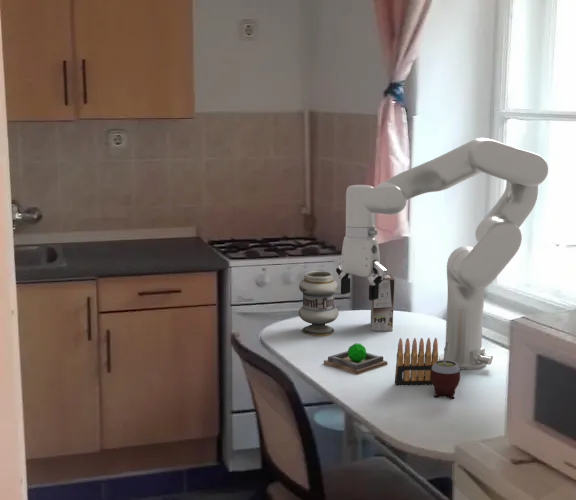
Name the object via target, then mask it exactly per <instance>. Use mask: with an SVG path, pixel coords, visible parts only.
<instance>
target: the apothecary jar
mask: <svg viewBox="0 0 576 500" xmlns="http://www.w3.org/2000/svg"><path fill="white" fill-rule="evenodd" d="M333 276H334V275H333V273H332V272H330V271H323V270H321V271H320V270H317V271H307V272H305V274H304V277H303V279H302V280H301V281H300V283H299V285H298V287H299V291H300V292H301V293H302V306H301V307H300V308H299V310H298V316H299V318H300V319H301V320H302V321H303V322H306V323H307V324H309V325H306V326H303V327H302V329H301V332H302V333H303V334H308V335H310V336H319V337H320V336H322V337H323V336H330V335H333V334H334V333H335V329H334V328H333V327H331V326H329V325H327V324H330V323H332V322H335V320H337V318H338V316H339V313H340V312H339V310H338V308H337V307H336V306H335V293H336V292H337V291H338V289H339V284H338V281H336V280H335V279H334V277H333Z"/></svg>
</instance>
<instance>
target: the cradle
mask: <svg viewBox="0 0 576 500" xmlns="http://www.w3.org/2000/svg"><path fill="white" fill-rule="evenodd" d="M323 364H324V365H327V366H331V367H333V368H337V369H340V370H343V371H346V372H350V373H353V374H355V375H356V374H357V375H360V374H363V373H365V372H369V371H372V370H374V369H378V368H381V367H383V366H387V365H388V361H387V360H384V356H382V355H376V354H372V353H369V352H366V357H365V359H363V360H362V361H360V362H354V361H352V360H351V359H350V358H349V355H348V350H346V351H344V352H339V353H337V354H333V355H331V356H328V357H327V359H325V360H323Z"/></svg>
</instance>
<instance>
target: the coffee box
mask: <svg viewBox="0 0 576 500" xmlns="http://www.w3.org/2000/svg"><path fill="white" fill-rule="evenodd" d="M378 276H379V274H378ZM373 279H374V278H373ZM394 300H395V278H394V276H393V275H392V273H386V275H385V277H384V280H383V281H382V282H381V284H379V295H378V299H375V300H370V326H371V329H372V331H377V332H379V331H381V332H382V331H383V332H384V331H386V332H392V331H393V328H394V327H393V325H394V302H395V301H394Z"/></svg>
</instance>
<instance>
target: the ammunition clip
mask: <svg viewBox="0 0 576 500" xmlns="http://www.w3.org/2000/svg"><path fill="white" fill-rule="evenodd" d="M410 343H411V342H410V338H409V337H407V338H406V340H405V345H404V344H403V340H402V337H400V338H399V340H398V344H397V352H396V365H395V374H394V375H395V376H394V384H395V386H399V385H400V386H399V387H401V385H403V386H404V385H408V386H410V385H411V386H433V385H432V382H431V378H430V374H431V369H432V366H433V364H434V363H435V362H437V361H439V351H438V350H439V349H438V348H439V346H438V339H437V337H434V340H433V343H432V342H431V339H430V337H427V340H426V344H425V343H424V339H423V337H421V338H420V340H419V345H418V343H417V338H416V337H414V338H413V340H412V346H411V344H410ZM403 345H404V346H405V347H404V346H403ZM424 345H425V346H424ZM403 347H404V349H403ZM403 350H404V351H403ZM411 386H410V387H411Z"/></svg>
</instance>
